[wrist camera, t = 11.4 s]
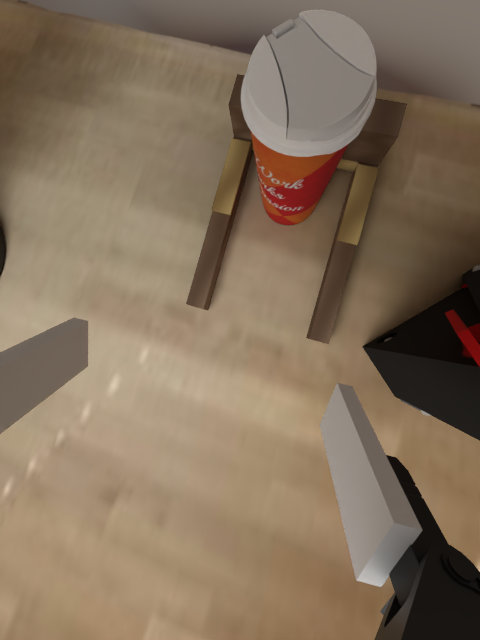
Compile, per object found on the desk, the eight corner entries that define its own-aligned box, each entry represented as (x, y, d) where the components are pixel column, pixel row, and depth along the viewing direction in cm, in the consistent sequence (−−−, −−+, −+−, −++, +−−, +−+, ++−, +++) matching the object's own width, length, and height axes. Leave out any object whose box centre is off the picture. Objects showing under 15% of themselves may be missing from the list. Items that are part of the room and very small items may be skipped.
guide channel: (191, 305, 31) (172, 299, 25) (242, 123, 31) (236, 74, 25) (324, 343, 29) (339, 346, 23) (378, 150, 29) (407, 103, 23)
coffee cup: (240, 187, 31) (213, 51, 16) (304, 150, 30) (340, -29, 15) (275, 249, 30) (281, 169, 15) (341, 213, 29) (417, 91, 14)
